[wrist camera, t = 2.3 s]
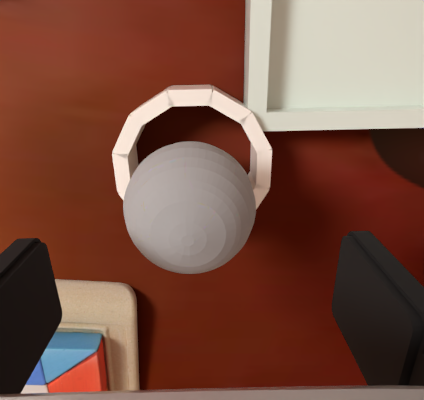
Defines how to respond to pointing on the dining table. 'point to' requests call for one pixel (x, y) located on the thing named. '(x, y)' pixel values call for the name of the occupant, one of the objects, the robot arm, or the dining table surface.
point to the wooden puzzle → (91, 341)
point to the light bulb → (189, 207)
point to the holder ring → (193, 96)
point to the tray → (334, 64)
